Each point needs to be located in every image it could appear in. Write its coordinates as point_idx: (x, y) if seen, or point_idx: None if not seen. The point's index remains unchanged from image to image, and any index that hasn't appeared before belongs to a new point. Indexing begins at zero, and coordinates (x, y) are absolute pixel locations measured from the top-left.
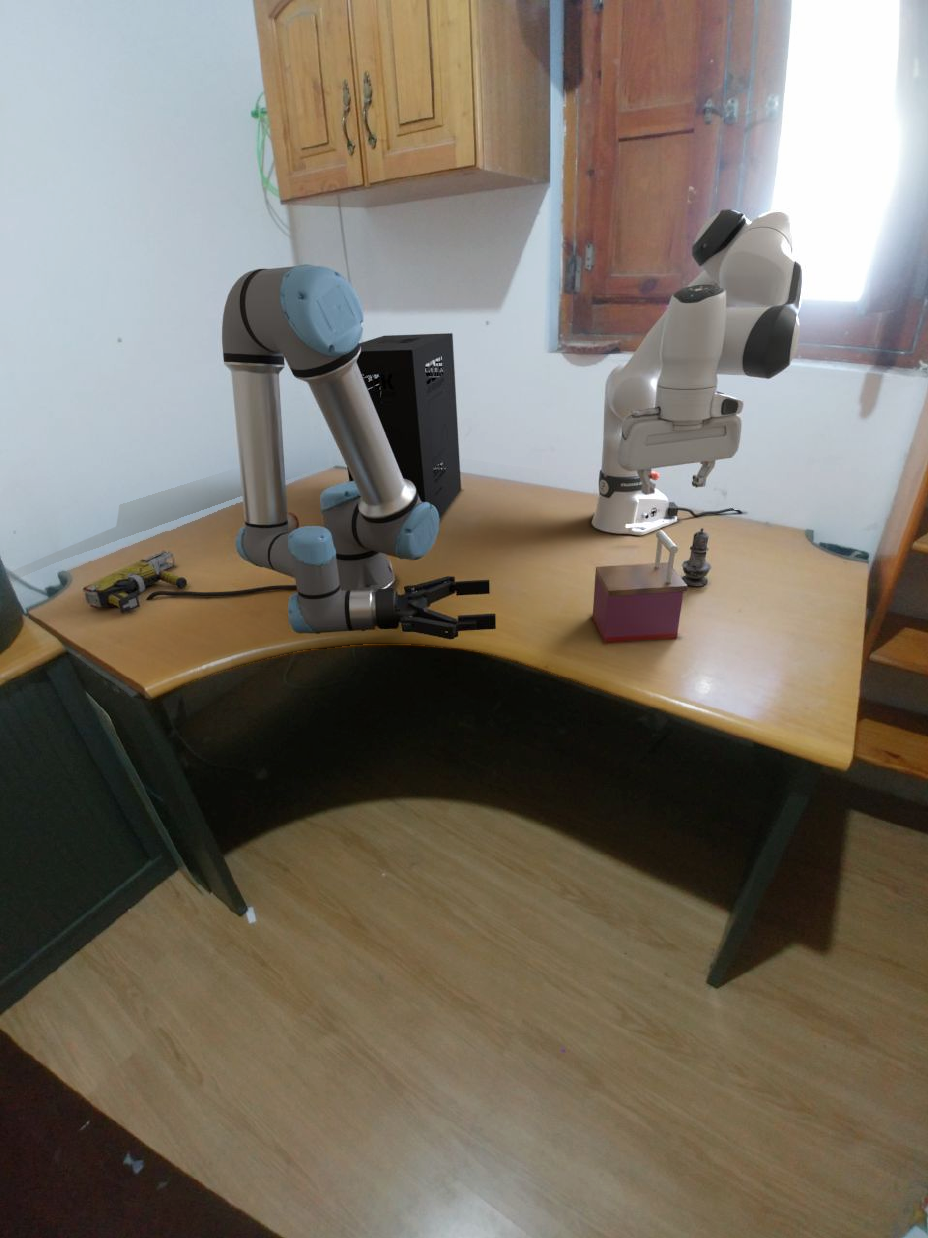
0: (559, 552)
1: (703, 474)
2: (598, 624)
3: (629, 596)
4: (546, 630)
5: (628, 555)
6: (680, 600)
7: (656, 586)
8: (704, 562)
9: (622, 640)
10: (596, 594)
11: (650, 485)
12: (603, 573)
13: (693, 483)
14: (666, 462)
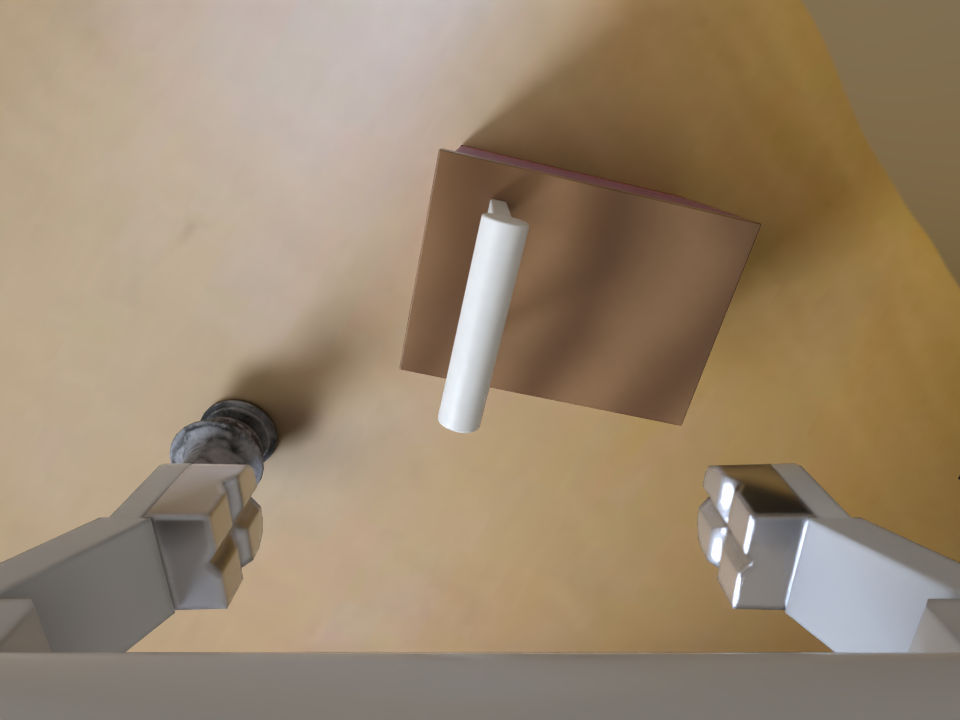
0: None
1: (130, 551)
2: None
3: (667, 200)
4: (793, 318)
5: (351, 617)
6: (463, 151)
7: (563, 191)
8: (192, 451)
9: (628, 184)
10: None
11: (814, 510)
12: (688, 367)
13: (252, 531)
14: (860, 706)
